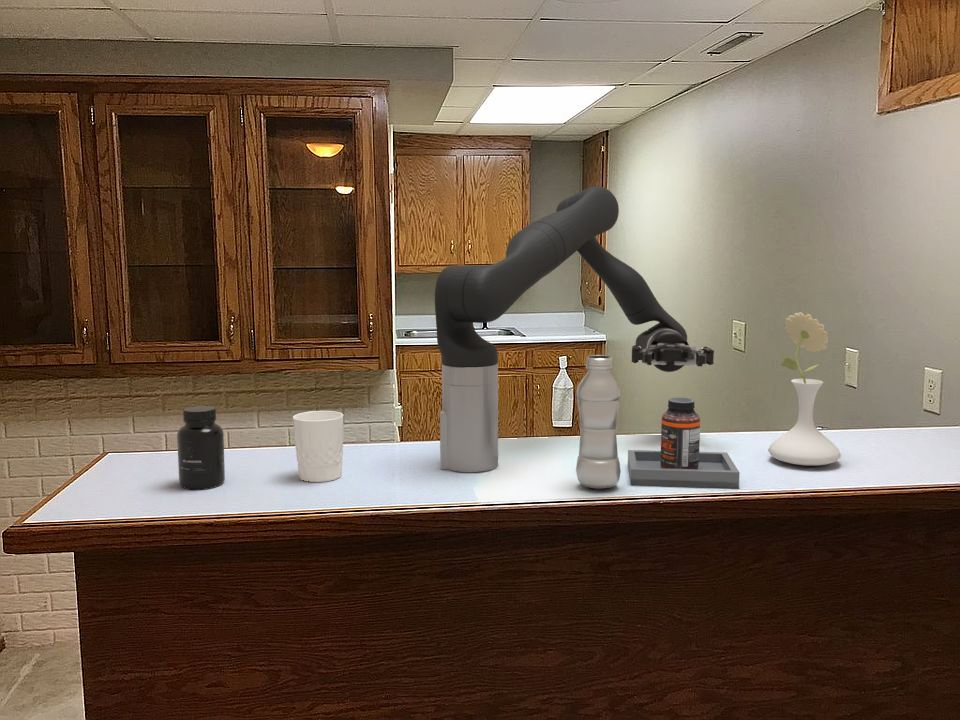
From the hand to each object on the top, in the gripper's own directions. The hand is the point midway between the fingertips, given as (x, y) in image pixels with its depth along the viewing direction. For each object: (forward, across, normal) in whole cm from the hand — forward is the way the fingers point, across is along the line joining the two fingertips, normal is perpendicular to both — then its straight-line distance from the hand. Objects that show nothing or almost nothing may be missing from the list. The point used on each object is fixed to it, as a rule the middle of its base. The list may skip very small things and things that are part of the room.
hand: (675, 359), depth 143 cm
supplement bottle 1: (+26, -74, +18) cm, 80 cm away
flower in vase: (+1, +21, +17) cm, 27 cm away
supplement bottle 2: (+13, 0, +16) cm, 21 cm away
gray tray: (+13, 0, +17) cm, 21 cm away
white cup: (+20, -57, +18) cm, 63 cm away
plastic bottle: (+20, -13, +18) cm, 30 cm away
